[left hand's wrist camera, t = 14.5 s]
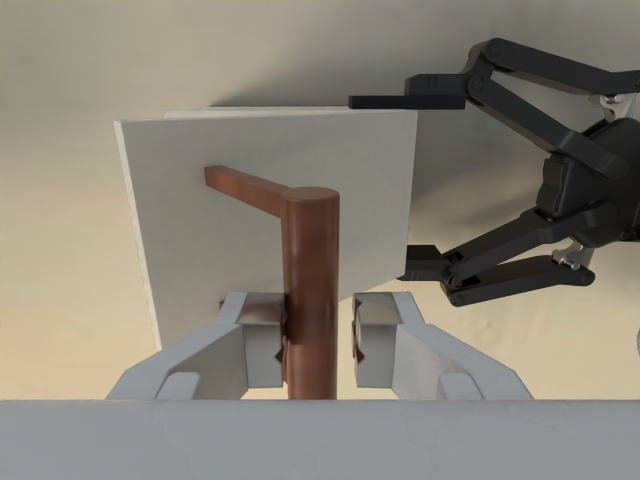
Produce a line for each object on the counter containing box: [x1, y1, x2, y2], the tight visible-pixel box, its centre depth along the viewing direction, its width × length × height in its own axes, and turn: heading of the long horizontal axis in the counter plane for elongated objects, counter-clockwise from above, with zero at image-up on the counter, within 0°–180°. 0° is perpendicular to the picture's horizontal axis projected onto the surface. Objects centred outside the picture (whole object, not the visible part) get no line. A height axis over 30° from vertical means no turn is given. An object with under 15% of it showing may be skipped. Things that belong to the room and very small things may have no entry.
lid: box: [114, 110, 418, 400], centre depth 15 cm, size 14×10×8 cm
